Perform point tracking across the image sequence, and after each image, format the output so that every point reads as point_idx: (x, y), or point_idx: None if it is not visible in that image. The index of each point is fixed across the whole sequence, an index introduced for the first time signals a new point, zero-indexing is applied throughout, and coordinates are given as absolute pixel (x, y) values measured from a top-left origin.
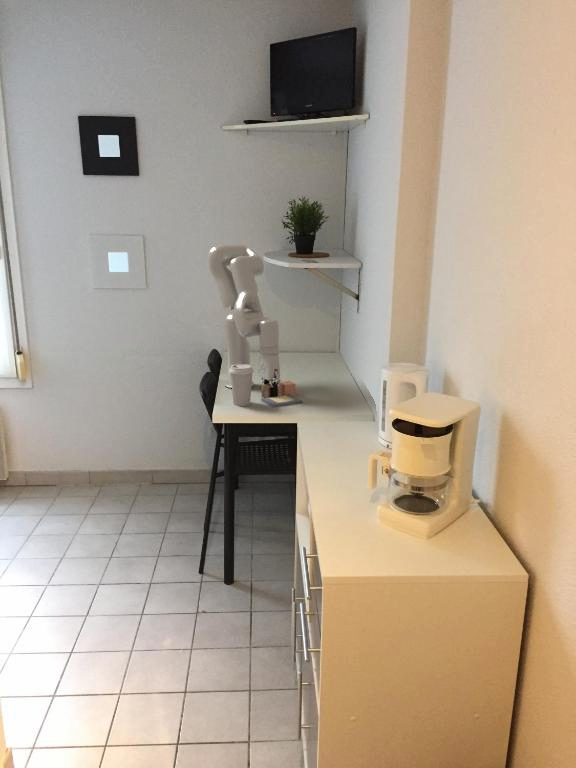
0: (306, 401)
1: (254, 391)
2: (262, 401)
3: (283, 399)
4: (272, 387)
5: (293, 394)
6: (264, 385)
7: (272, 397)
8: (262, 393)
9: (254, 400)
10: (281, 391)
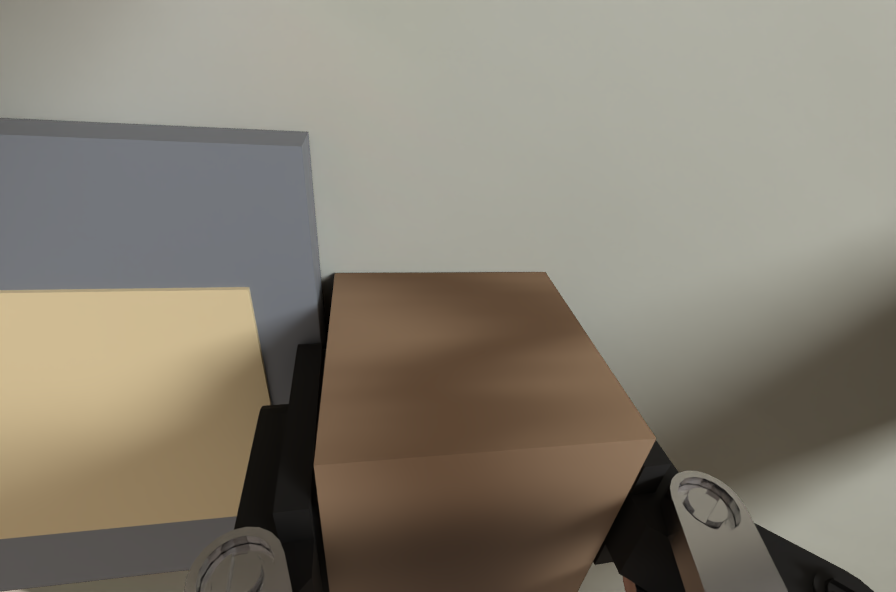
0: (60, 588)
1: (814, 298)
2: (244, 129)
3: (54, 443)
4: (220, 547)
5: None
6: (549, 463)
7: (254, 353)
8: (542, 306)
9: (413, 12)
10: None
